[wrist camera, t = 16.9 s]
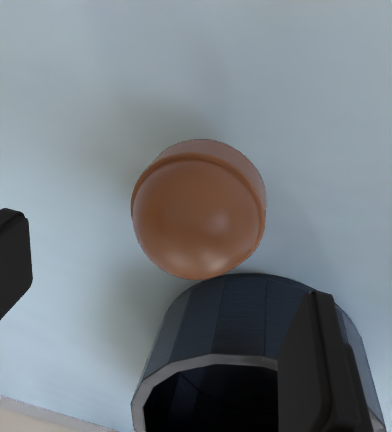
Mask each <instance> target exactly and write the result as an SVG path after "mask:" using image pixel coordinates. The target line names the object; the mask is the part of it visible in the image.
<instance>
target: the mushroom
mask: <svg viewBox="0 0 392 432" xmlns="http://www.w3.org/2000/svg"><path fill="white" fill-rule="evenodd" d="M131 216H132V220H133V226H134V231H135V235H136V238H137V240H138V243H139V244H140V246H141V248H142V250H143V251H144V253H145V254H146V256H147V257H148V258H149V259H150V260H151V261H152V262H153V263H154V264H155V265H156V266H158V267H159V268H160V269H162V270H164V271H165V272H167V273H169V274H171V275H174V276H177V277H180V278H184V279H190V280H203V279H209V278H214V277H217V276H220V275H222V274H224V273H226V272H228V271H230V270H231V269H233V268H234V267H236V266H237V265H239V264H240V263H242V262H243V261H245V260H246V259H247V258H248V257H249V256H250V255H251V254H252V253H253V252H254V251H255V250H256V248H257V246H258V245H259V243H260V241H261V238H262V236H263V232H264V228H265V217H266V191H265V186H264V183H263V180H262V178H261V176H260V174H259V172H258V170H257V169H256V168H255V166H254V165H253V164H252V163H251V161H250V160H249V159H248V158H247V157H246V156H244V155H243V154H242V153H241V152H239V151H238V150H236V149H234V148H233V147H231V146H228V145H226V144H224V143H221V142H217V141H213V140H206V139H195V140H187V141H183V142H180V143H177V144H175V145H173V146H171V147H169V148H167V149H166V150H165V151H163V152H162V153H161V154H160V155H159V156H158V157H157V158H156V159H155V160H154V161H153V162H152V163H151V164H150V165H149V167H148V168H147V169H146V170H145V171H144V172H143V173H142V175H141V176H140V177H139V179H138V181H137V183H136V185H135V187H134V190H133V193H132V198H131Z"/></svg>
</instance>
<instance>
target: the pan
mask: <svg viewBox="0 0 392 432" xmlns="http://www.w3.org/2000/svg"><path fill="white" fill-rule="evenodd" d="M313 290H315V289H313V288H310V287H308V286H306V285H304V284H301V283H299V282H296V281H293V280H290V279H286V278H282V277H277V276H273V275H265V274H249V273H241V274H231V275H224V276H220V277H215V278H212V279H209V280H206V281H203V282H201V283H199V284H197V285H195V286H193V287H191V288H189V289H188V290H186V291H185V292H184V293H182V294H181V295H180V296H179V297H178V298H177V299H176V300H175V301H174V302H173V303H172V305H171V306H170V307H169V309H168V311H167V313H166V315H165V317H164V319H163V322H162V324H161V326H160V328H159V330H158V333H157V336H156V338H155V341H154V343H153V346H152V349H151V351H150V354H149V356H148V359H147V362H146V364H145V367H144V369H143V372H142V375H141V377H140V380H139V382H138V385H137V388H136V390H135V393H134V395H133V398H132V401H131V411H132V419H133V426H134V430H135V431H136V432H279V414H278V366H277V357H278V351H279V348H280V346H281V344H282V341H283V339H284V337H285V335H286V333H287V331H288V328H289V326H290V324H291V322H292V320H293V317H294V315H295V313H296V311H297V309H298V307H299V304H300V302H301V300H302V298H303V296H304V294H305V293H309V294H310V293H311V292H312V291H313ZM335 308H336V312H337V316H338V321H339V325H340V329H341V334H342V338H343V342H345V343H349V344H350V345H351V346H352V349H353V351H354V355H355V359H356V363H357V367H358V371H359V375H360V379H361V383H362V387H363V391H364V395H365V399H366V403H367V407H368V410H369V414H370V418H371V422H372V426H373V430H374V432H387V431H386V426H385V423H384V419H383V415H382V412H381V408H380V404H379V401H378V397H377V393H376V389H375V386H374V382H373V378H372V375H371V371H370V367H369V364H368V360H367V356H366V353H365V349H364V345H363V341H362V338H361V336H360V335H359V333H358V331H357V329H356V327H355V325H354V323H353V322H352V321H351V319H350V318H349V317H348V315H347V314H346V313H345V312H344V311H343V310H342V309H341V308H340V307H339V306H338V305H337V304H336V303H335Z"/></svg>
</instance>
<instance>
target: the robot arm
mask: <svg viewBox="0 0 392 432" xmlns="http://www.w3.org/2000/svg"><path fill="white" fill-rule="evenodd" d="M32 280H33V276H32V263H31V249H30V236H29V222H28V219H27V218H25V216H24V214H23V213H22V212H19V211H15V210H11V209H8V208H3V209H1V210H0V320H1V319H2V318H3V317H4V316H5V314H6V313H7V312H8V311H9V310H10V309H11V308H12V307H13V306H14V305H15V303H16V302H17V301H18V300H19V299H20V298H21V297H22V296H23V295H24V294H25V293H26V291H27V290H28V289H29V288H30V286H31V284H32ZM277 366H278V414H279V432H374V430H373V426H372V422H371V418H370V414H369V410H368V407H367V403H366V399H365V395H364V391H363V387H362V383H361V379H360V375H359V371H358V367H357V363H356V359H355V355H354V351H353V349H352V346H351V345H350V344H349V343H345V342H343V338H342V334H341V329H340V325H339V321H338V316H337V312H336V308H335V303H334V299H333V296H332V295H331V294H327V293H323V292H320V291H316V290H313V291H312V292H311V293H310V294H309V293H305V294H304V296H303V298H302V300H301V302H300V304H299V307H298V309H297V311H296V313H295V315H294V317H293V320H292V322H291V324H290V326H289V328H288V331H287V333H286V335H285V337H284V339H283V341H282V344H281V346H280V348H279V351H278V357H277ZM0 432H118V431H115V430H112V429H109V428H105V427H102V426H99V425H96V424H92V423H89V422H86V421H83V420H79V419H76V418H73V417H70V416H66V415H63V414H60V413H57V412H53V411H50V410H47V409H44V408H40V407H37V406H34V405H31V404H27V403H24V402H21V401H18V400H14V399H11V398H8V397H4V396H1V395H0Z"/></svg>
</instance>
